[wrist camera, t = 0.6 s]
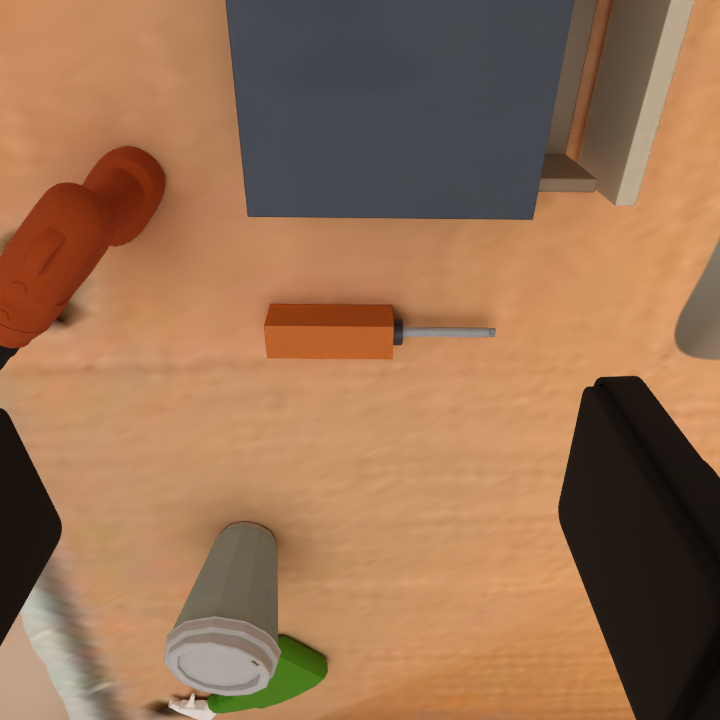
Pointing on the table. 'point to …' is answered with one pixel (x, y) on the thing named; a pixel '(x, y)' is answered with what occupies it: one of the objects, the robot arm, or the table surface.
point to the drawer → (615, 97)
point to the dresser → (395, 105)
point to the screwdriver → (345, 331)
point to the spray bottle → (290, 679)
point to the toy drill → (72, 241)
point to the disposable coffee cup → (230, 617)
